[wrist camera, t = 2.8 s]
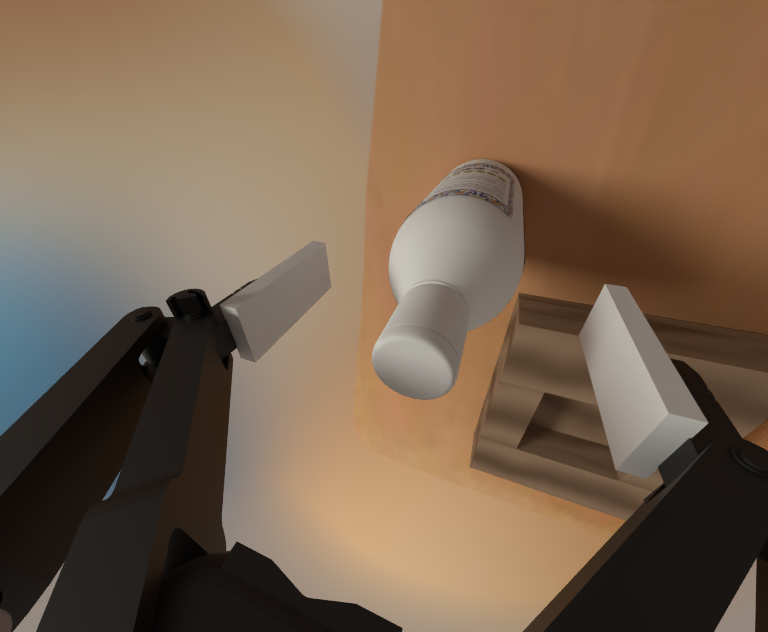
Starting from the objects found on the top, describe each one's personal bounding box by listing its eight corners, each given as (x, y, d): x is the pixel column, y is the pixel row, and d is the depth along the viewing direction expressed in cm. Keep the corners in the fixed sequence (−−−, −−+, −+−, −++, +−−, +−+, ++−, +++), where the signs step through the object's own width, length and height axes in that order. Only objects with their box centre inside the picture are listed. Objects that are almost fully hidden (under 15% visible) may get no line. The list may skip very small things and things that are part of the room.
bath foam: (423, 183, 25) (280, 310, 10) (507, 139, 21) (478, 237, 6) (453, 253, 28) (376, 437, 13) (533, 225, 24) (556, 440, 9)
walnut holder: (518, 293, 28) (518, 323, 24) (767, 335, 23) (816, 382, 19) (474, 434, 42) (469, 467, 38) (619, 479, 37) (630, 522, 33)
